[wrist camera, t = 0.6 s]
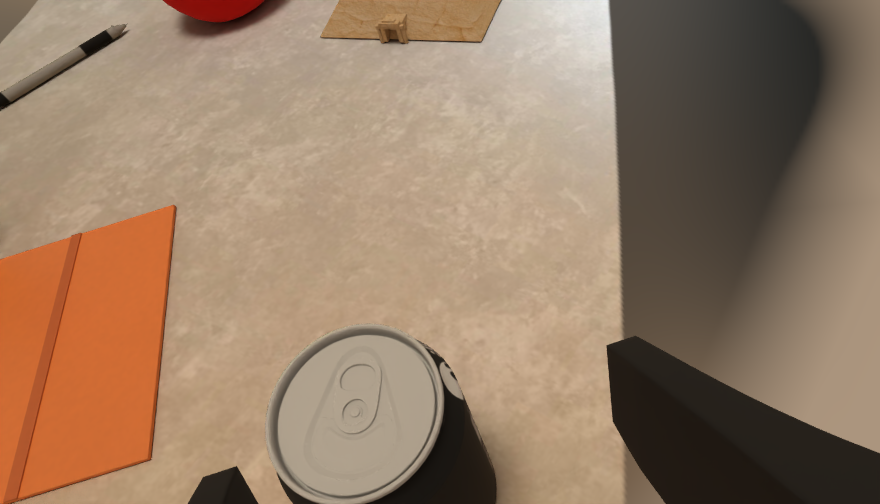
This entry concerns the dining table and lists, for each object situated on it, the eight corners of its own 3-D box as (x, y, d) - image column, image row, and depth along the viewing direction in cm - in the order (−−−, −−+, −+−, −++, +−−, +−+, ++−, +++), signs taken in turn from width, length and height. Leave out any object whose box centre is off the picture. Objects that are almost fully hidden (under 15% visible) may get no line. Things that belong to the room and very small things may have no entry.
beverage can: (360, 572, 25) (230, 527, 15) (370, 428, 28) (271, 321, 19) (503, 567, 24) (460, 517, 14) (493, 420, 28) (454, 302, 18)
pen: (-5, 108, 57) (-15, 98, 56) (129, 27, 62) (121, 16, 61) (-1, 112, 56) (-12, 102, 55) (133, 30, 62) (126, 19, 61)
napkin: (150, 459, 30) (146, 457, 30) (-120, 543, 30) (-127, 542, 30) (176, 207, 42) (173, 203, 42) (-16, 267, 42) (-21, 264, 42)
